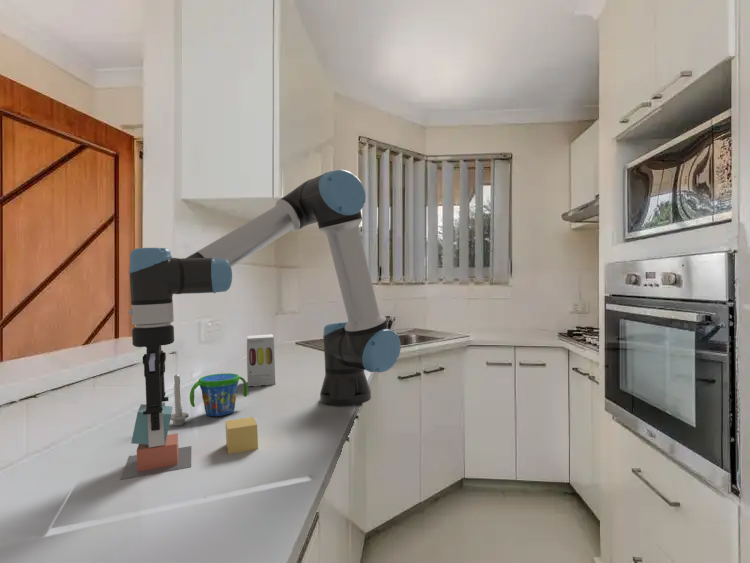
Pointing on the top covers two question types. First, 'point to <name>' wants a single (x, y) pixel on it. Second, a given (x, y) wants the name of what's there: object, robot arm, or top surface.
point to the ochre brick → (241, 435)
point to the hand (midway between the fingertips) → (157, 439)
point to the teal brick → (142, 425)
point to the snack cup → (218, 393)
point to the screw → (178, 404)
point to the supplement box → (260, 360)
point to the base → (133, 465)
